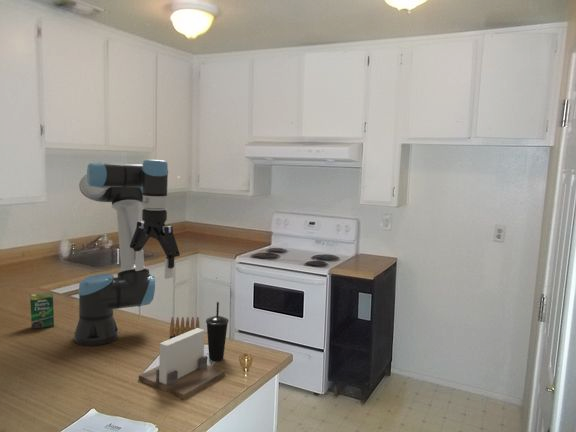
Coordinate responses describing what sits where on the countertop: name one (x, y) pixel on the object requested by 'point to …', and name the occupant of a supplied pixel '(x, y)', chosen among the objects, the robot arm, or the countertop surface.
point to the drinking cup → (216, 336)
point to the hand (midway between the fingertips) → (153, 274)
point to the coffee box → (42, 310)
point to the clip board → (184, 379)
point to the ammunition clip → (182, 326)
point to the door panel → (181, 354)
